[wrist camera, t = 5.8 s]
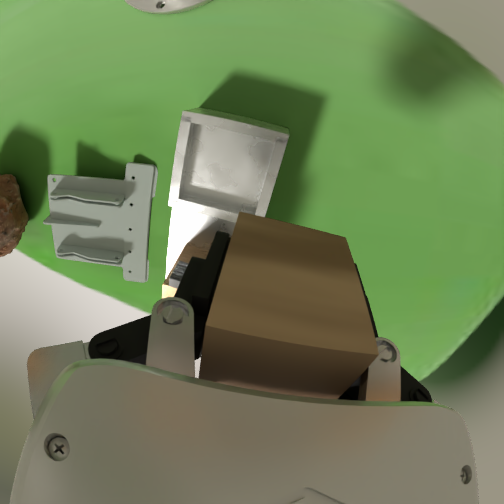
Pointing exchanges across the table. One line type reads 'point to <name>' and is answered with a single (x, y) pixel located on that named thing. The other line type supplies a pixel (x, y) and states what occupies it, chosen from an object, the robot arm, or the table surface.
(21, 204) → the decorative rock
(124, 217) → the metal bracket
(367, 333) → the wood grain cube
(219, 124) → the white desk organizer
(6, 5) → the table surface
